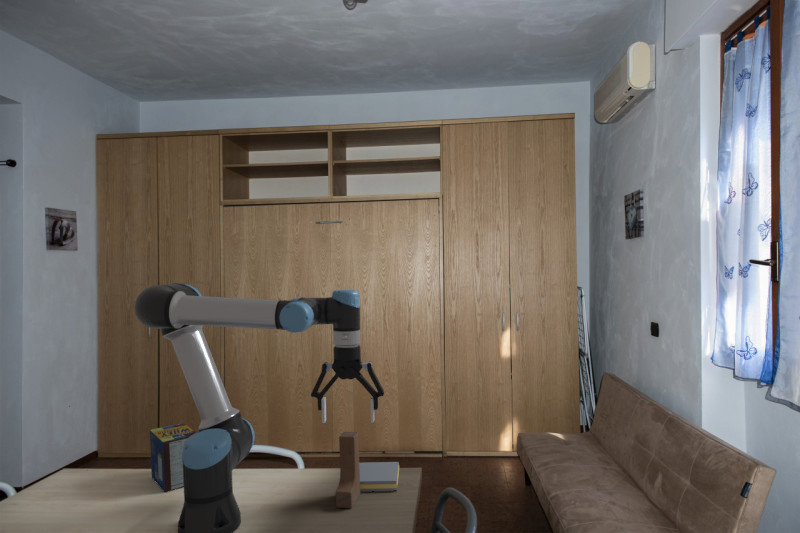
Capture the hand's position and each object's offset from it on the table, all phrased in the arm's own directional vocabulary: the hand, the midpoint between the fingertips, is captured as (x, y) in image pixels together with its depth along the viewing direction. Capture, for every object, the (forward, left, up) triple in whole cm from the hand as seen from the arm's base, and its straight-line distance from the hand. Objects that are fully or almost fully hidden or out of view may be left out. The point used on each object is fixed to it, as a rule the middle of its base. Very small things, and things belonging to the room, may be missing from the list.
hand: (348, 421), depth 141 cm
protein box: (-58, +16, -23) cm, 65 cm away
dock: (+5, +13, -22) cm, 26 cm away
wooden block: (-1, 0, -23) cm, 23 cm away
